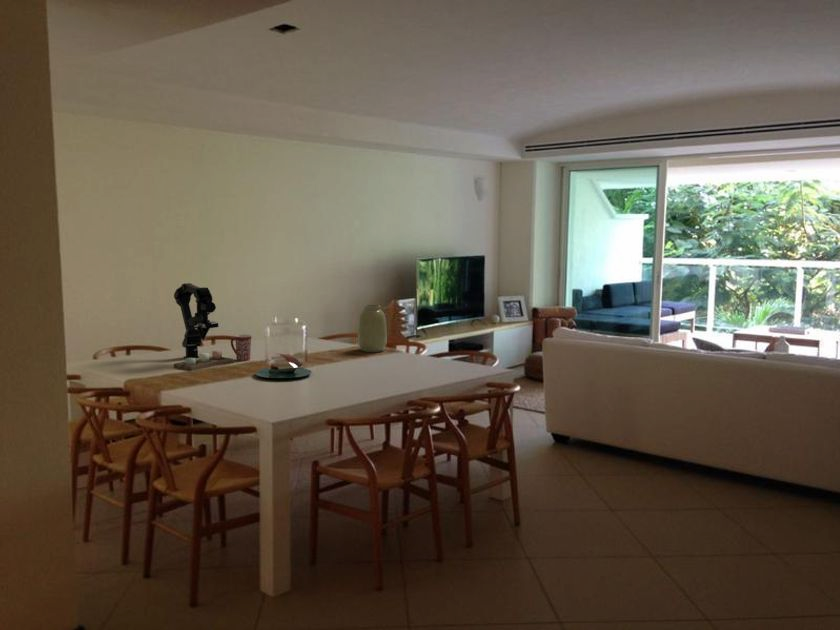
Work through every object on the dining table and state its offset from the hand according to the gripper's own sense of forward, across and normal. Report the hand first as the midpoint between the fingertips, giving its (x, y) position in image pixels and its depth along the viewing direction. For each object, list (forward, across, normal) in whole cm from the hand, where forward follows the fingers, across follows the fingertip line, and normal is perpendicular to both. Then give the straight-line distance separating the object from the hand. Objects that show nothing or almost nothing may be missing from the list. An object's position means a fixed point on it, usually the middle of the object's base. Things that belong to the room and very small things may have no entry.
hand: (202, 339), depth 397 cm
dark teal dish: (+12, +60, -2) cm, 61 cm away
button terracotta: (+10, +8, +3) cm, 13 cm away
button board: (+12, +8, -6) cm, 16 cm away
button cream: (+10, +8, -6) cm, 14 cm away
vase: (+12, +52, +84) cm, 100 cm away
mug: (+12, +12, +16) cm, 23 cm away
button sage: (+11, +8, -15) cm, 21 cm away
